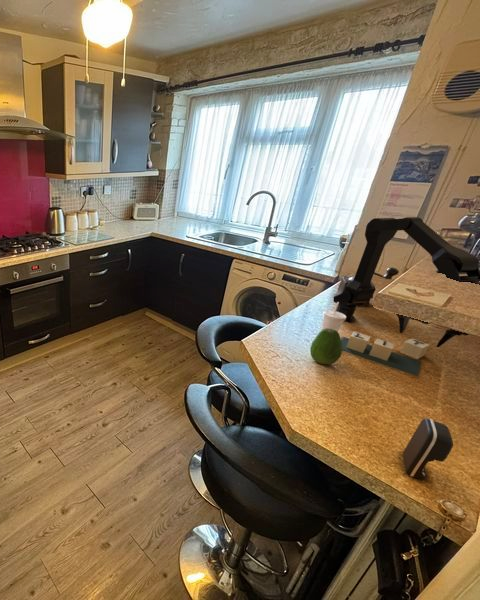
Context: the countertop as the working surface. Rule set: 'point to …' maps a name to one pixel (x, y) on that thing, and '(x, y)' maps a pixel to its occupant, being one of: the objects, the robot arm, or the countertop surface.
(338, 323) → the smoothie
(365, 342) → the tile
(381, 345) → the tile
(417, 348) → the tile
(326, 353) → the avocado
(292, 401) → the countertop surface
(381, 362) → the word mat
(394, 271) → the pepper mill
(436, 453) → the battery charger
